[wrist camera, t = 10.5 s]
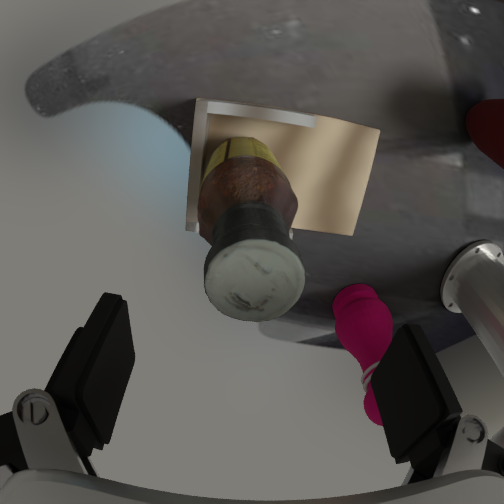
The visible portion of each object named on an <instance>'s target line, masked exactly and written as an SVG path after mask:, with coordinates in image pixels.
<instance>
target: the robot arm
mask: <svg viewBox="0 0 504 504" xmlns="http://www.w3.org/2000/svg"><path fill="white" fill-rule="evenodd" d="M440 296H441V300H442V302H443V304H444V305H445V307H446V308H447V309H448V310H450V311H451V312H455V313H461V312H462V313H463V315H464V316H465V317H466V319H467V320H468V322H469V323H470V325H471V326H472V328H473V329H474V331H475V332H476V334H477V335H478V337H479V338H480V340H481V341H482V343H483V344H484V346H485V347H486V349H487V350H488V352H489V354H490V355H491V357H492V358H493V360H494V362H495V363H496V365H497V367H498V368H499V370H500V371H501V373H502V375H503V376H504V257H503V253H502V251H501V249H500V248H499V247H498V246H497V245H496V244H495V243H494V242H492V241H488V240H482V241H478V242H475V243H473V244H471V245H469V246H468V247H467V248H465V249H464V250H463V251H462V252H461V253H459V254H458V255H457V257H456V258H455V259H454V260H453V261H452V263H451V264H450V266H449V267H448V269H447V271H446V273H445V275H444V277H443V280H442V283H441V288H440ZM134 362H135V352H134V346H133V340H132V334H131V327H130V320H129V313H128V305H127V301H125V300H123V299H122V296H121V295H117V294H112V293H106V292H105V293H104V294H103V295H102V296H101V298H100V300H99V302H98V303H97V305H96V306H95V308H94V310H93V312H92V314H91V315H90V317H89V319H88V320H87V322H86V324H85V326H84V327H79V328H78V329H77V330H76V331H75V333H74V334H73V336H72V338H71V340H70V342H69V344H68V345H67V347H66V349H65V351H64V353H63V355H62V356H61V359H60V360H59V362H58V364H57V366H56V368H55V370H54V372H53V374H52V376H51V378H50V380H49V382H48V384H47V386H46V388H45V390H44V391H43V390H41V389H35V388H34V389H28V390H26V391H24V392H22V393H21V394H20V395H18V397H17V398H16V399H15V401H14V404H13V408H12V411H11V412H9V413H6V414H3V415H1V416H0V490H1V491H0V504H504V427H503V428H502V429H501V430H499V431H498V432H497V433H496V434H495V435H494V436H493V437H492V438H491V439H490V440H489V439H488V430H487V426H486V425H485V423H484V422H483V420H482V419H481V418H479V417H478V416H476V415H473V414H467V415H464V416H463V417H462V418H461V417H460V414H461V413H462V412H463V411H462V408H461V406H460V404H459V402H458V400H457V397H456V395H455V393H454V391H453V389H452V387H451V385H450V383H449V380H448V378H447V376H446V374H445V372H444V370H443V368H442V366H441V364H440V362H439V360H438V358H437V356H436V354H435V352H434V350H433V349H432V347H431V345H430V343H429V341H428V339H427V337H426V335H425V334H424V332H423V330H422V328H421V327H420V325H418V324H404V325H403V326H402V327H401V328H399V329H398V330H397V332H396V334H395V336H394V338H393V339H392V341H391V343H390V345H389V346H388V348H387V350H386V352H385V353H384V355H383V357H382V359H381V360H380V362H379V364H378V365H377V367H376V369H375V370H374V372H373V373H372V375H371V380H370V382H371V386H372V390H373V393H374V396H375V400H376V403H377V406H378V410H379V413H380V417H381V420H382V424H383V427H384V431H385V435H386V438H387V442H388V445H389V449H390V453H391V456H392V457H394V458H395V461H396V464H400V463H404V462H408V461H410V463H411V467H410V469H409V471H408V473H407V475H406V477H405V479H404V481H403V483H402V485H401V486H399V487H394V488H390V489H385V490H380V491H374V492H368V493H362V494H355V495H348V496H340V497H332V498H321V499H308V500H285V501H254V500H231V499H218V498H207V497H198V496H190V495H183V494H176V493H170V492H164V491H158V490H153V489H147V488H142V487H137V486H133V485H129V484H124V483H120V482H116V481H112V480H108V479H104V478H100V477H99V475H98V473H97V472H96V469H95V467H94V466H93V464H92V462H91V460H90V458H89V456H91V453H92V450H93V448H96V449H99V450H103V446H104V444H109V442H110V439H111V436H112V433H113V429H114V426H115V422H116V419H117V415H118V412H119V409H120V406H121V403H122V400H123V396H124V393H125V390H126V387H127V384H128V381H129V378H130V375H131V372H132V369H133V366H134Z"/></svg>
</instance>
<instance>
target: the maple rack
mask: <svg viewBox="0 0 504 504" xmlns="http://www.w3.org/2000/svg"><path fill="white" fill-rule="evenodd" d="M379 134H380V130H378V129H376V128H372V127H368V126H365V125H361V124H357V123H353V122H349V121H344V120H340V119H336V118H331V117H327V116H322V115H317V114H312V113H307V112H302V111H297V110H291V109H285V108H279V107H273V106H266V105H259V104H252V103H244V102H236V101H227V100H217V99H205V98H197V99H196V106H195V115H194V124H193V134H192V145H191V156H190V169H189V182H188V196H187V212H186V231H192V232H199V222H198V218H197V215H198V209H197V206H198V198H199V193H200V188H201V185H202V182H203V179H204V176H205V173H206V170H207V167H208V164H209V161H210V158H211V156H212V154H213V152H214V151H215V150H216V149H217V148H218V147H219V146H220V145H221V144H222V143H223V142H225V141H226V140H228V139H230V138H235V137H253V138H255V139H257V140H259V141H261V142H262V143H264V144H265V145H266V146H268V147H269V149H270V150H271V152H272V153H273V155H274V156H275V158H276V160H277V162H278V163H279V165H280V167H281V168H282V170H283V171H284V173H285V175H286V177H287V178H288V180H289V182H290V185H291V188H292V190H293V192H294V193H295V195H296V197H297V199H298V210H297V212H296V215H295V218H294V220H293V223H292V226H291V228H290V230H289V234H290V238H291V240H292V236H293V232H292V228H298V229H306V230H313V231H321V232H328V233H335V234H343V235H350V236H352V235H353V232H354V229H355V225H356V222H357V218H358V215H359V212H360V208H361V205H362V201H363V197H364V194H365V190H366V186H367V183H368V179H369V175H370V171H371V167H372V163H373V159H374V155H375V151H376V147H377V143H378V138H379Z"/></svg>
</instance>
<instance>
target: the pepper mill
mask: <svg viewBox="0 0 504 504" xmlns="http://www.w3.org/2000/svg"><path fill="white" fill-rule="evenodd" d="M332 309H333V313H334V315H335V318H336V324H335V330H336V334H337V336H338V339H339V341H340V342H341V344H342V345H343V346H344V348H345V349H346V350H347V351H349V352H350V353H351V354H352V355H353V356H354V357H355V358H356V359H357V361H358V362H359V363H360V366H361V368H362V370H363V375H362V377H361V382H362V384H363V389H364V391H365V392H366V395H365V398H364V409H365V412H366V414H367V416H368V417H369V419H370V420H371V421H373V422H374V423H375V424H377V425H381V426H383V424H382V420H381V417H380V413H379V410H378V406H377V403H376V400H375V396H374V393H373V390H372V386H371V382H370V380H371V375H372V373H373V372H374V370H375V369H376V367H377V365H378V364H379V362H380V360H381V359H382V357H383V355H384V353H385V352H386V350H387V348H388V346H389V345H390V343H391V341H392V332H393V321H392V316H391V313H390V311H389V309H388V307H387V306H386V304H385V303H383V302H382V301H380V300H379V298H378V296H377V294H376V292H375V290H374V289H373V288H372V287H371V286H369V285H366V284H354V285H350V286H348V287H346V288H344V289H343V290H342V291H340V292H339V293H338V294H337V296H336V297H335V299H334V301H333V305H332Z"/></svg>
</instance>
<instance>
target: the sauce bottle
mask: <svg viewBox="0 0 504 504" xmlns="http://www.w3.org/2000/svg"><path fill="white" fill-rule="evenodd" d="M197 209H198V215H197V218H198V222H199V234H200V236H202V237H203V238H205V240H206V241H207V242H208V243H210V245H211V246H212V247H211V249H210V251H209V252H208V255H207V257H206V260H205V264H204V287H205V293H206V294H207V296H208V298H209V300H210V302H211V303H212V304H213V305H214V306H215V307H216V308H217V310H219V311H221V313H223V314H224V315H227V316H229V317H232V318H234V319H238V320H243V321H254V322H260V321H268V320H271V319H274V318H277V317H279V316H281V315H282V314H284V313H286V312H287V311H288V310H289V309H290V308H291V307H292V306H293V305H294V304H295V303H296V302H297V301H298V300H299V298H300V296H301V294H302V291H303V289H304V285H305V268H304V265H303V261H302V258H301V255H300V252H299V250H298V248H297V246H296V245H295V244H294V242H293V241H292V240H291V238H290V234H289V230H290V228H291V226H292V223H293V220H294V218H295V215H296V212H297V210H298V199H297V197H296V195H295V193H294V192H293V190H292V188H291V185H290V182H289V180H288V178H287V177H286V175H285V173H284V171H283V170H282V168H281V167H280V165H279V163H278V162H277V160H276V158H275V156H274V155H273V153H272V152H271V150H270V149H269V147H268V146H266V145H265V144H264V143H262V142H261V141H259V140H257V139H255V138H253V137H235V138H230V139H228V140H226V141H225V142H223V143H222V144H221V145H220V146H219V147H218V148H217V149H216V150H215V151H214V152H213V154H212V156H211V158H210V161H209V164H208V167H207V170H206V173H205V176H204V179H203V182H202V185H201V188H200V193H199V198H198V206H197Z"/></svg>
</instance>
